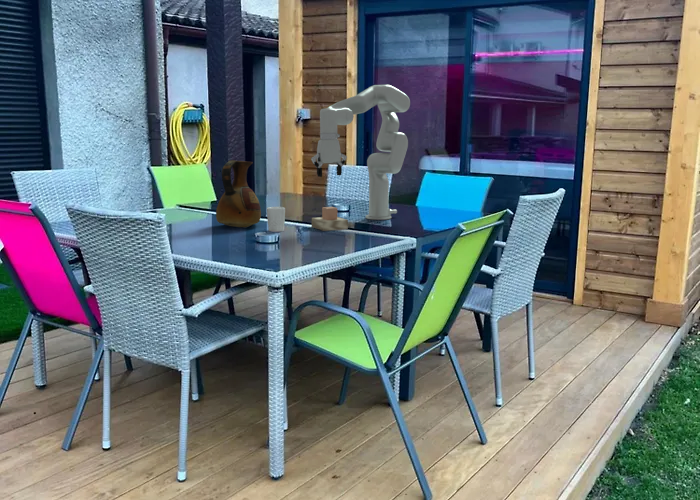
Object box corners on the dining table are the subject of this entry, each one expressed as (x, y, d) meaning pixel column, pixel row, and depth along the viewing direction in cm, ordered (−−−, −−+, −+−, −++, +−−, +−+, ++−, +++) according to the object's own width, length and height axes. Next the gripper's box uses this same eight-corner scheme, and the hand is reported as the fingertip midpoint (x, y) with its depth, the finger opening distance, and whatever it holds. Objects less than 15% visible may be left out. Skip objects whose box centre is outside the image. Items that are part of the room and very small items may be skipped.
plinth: (335, 224, 310) (335, 216, 309) (347, 228, 299) (347, 219, 298) (311, 226, 304) (311, 218, 303) (323, 230, 294) (323, 221, 293)
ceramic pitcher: (269, 225, 308) (268, 159, 302) (244, 232, 290) (242, 162, 284) (233, 222, 316) (231, 157, 310) (207, 228, 298) (204, 160, 292)
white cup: (282, 232, 289) (282, 209, 287) (264, 231, 291) (264, 208, 289) (287, 229, 297) (287, 207, 295) (270, 228, 298) (270, 206, 296)
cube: (332, 217, 304) (332, 206, 303) (337, 219, 300) (337, 208, 299) (322, 218, 302) (322, 207, 301) (327, 220, 297) (327, 208, 296)
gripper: (341, 136, 304) (342, 174, 307) (307, 137, 295) (308, 176, 299) (350, 136, 297) (350, 175, 301) (315, 138, 289) (316, 178, 293)
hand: (329, 175), depth 300 cm, fingers open, 9 cm apart
